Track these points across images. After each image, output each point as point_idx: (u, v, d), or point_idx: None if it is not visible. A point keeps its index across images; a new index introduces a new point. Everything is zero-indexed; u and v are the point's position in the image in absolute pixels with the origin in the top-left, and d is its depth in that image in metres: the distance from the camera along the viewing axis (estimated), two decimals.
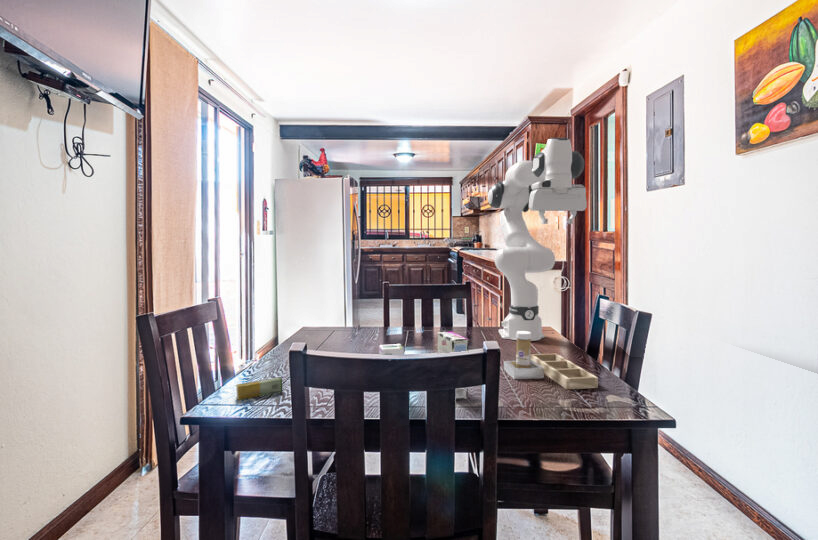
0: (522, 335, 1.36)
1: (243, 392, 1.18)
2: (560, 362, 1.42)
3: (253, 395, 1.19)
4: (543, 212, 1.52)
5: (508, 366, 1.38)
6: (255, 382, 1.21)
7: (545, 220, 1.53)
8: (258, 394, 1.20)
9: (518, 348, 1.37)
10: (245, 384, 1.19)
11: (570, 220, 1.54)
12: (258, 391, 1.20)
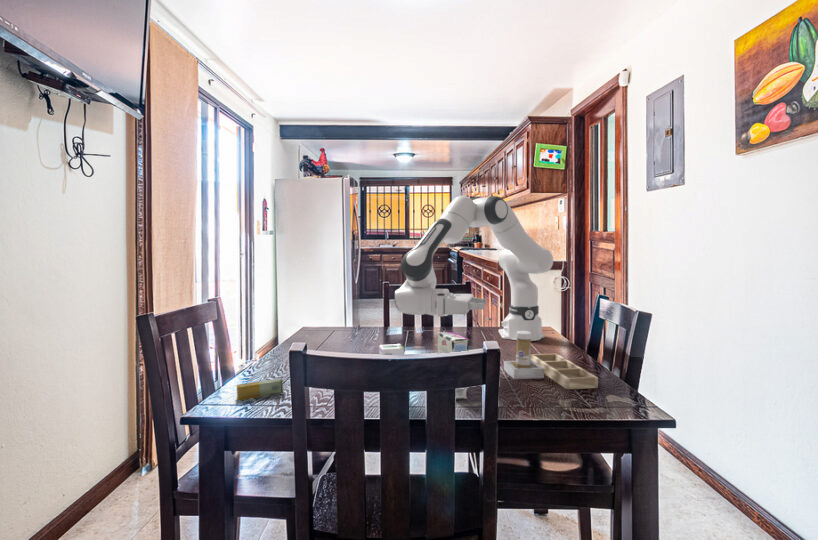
0: (522, 335, 1.36)
1: (243, 393, 1.17)
2: (560, 362, 1.42)
3: (253, 396, 1.19)
4: (471, 302, 1.35)
5: (508, 366, 1.38)
6: (255, 383, 1.20)
7: (480, 303, 1.35)
8: (258, 395, 1.19)
9: (518, 348, 1.37)
10: (245, 385, 1.19)
11: (482, 299, 1.44)
12: (258, 392, 1.19)
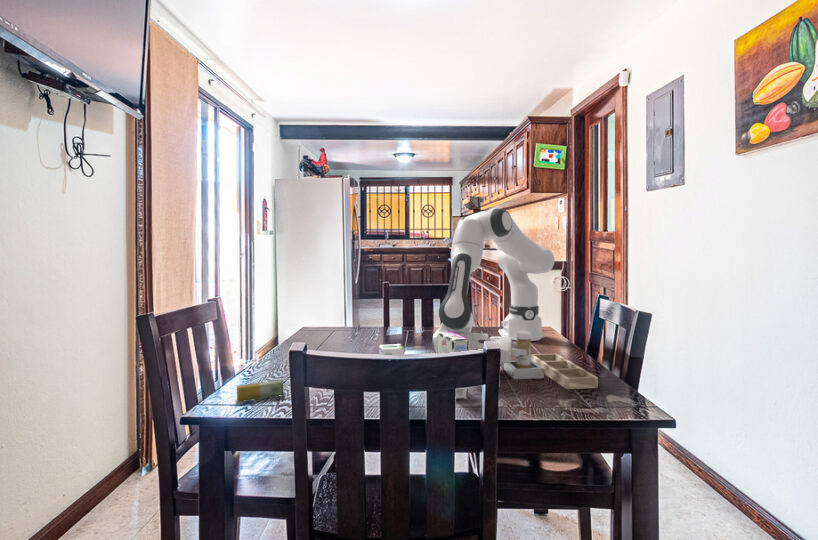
0: (522, 335, 1.36)
1: (243, 394, 1.17)
2: (560, 362, 1.42)
3: (252, 397, 1.18)
4: (513, 348, 1.35)
5: (508, 366, 1.38)
6: (255, 384, 1.19)
7: (522, 349, 1.35)
8: (258, 396, 1.18)
9: (518, 348, 1.37)
10: (245, 386, 1.18)
11: None
12: (258, 393, 1.18)
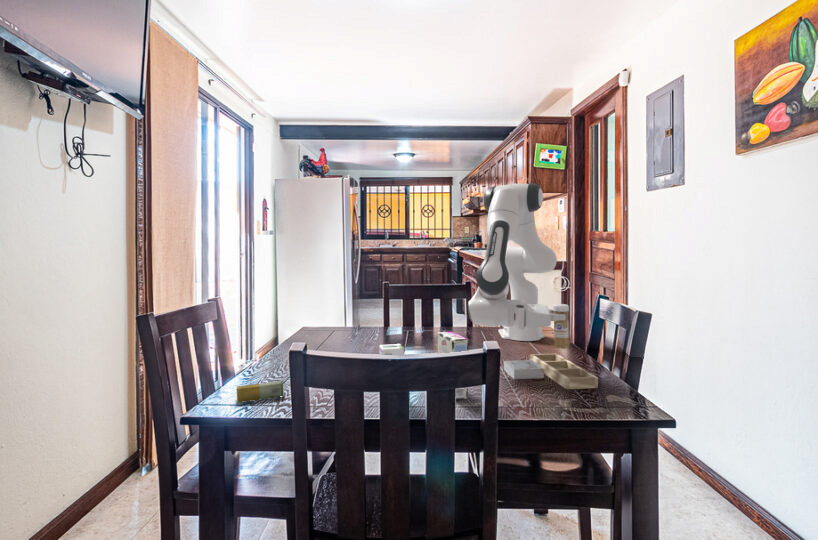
0: (560, 307, 1.35)
1: (242, 395, 1.16)
2: (560, 362, 1.42)
3: (252, 398, 1.17)
4: (552, 313, 1.34)
5: (508, 366, 1.38)
6: (255, 385, 1.18)
7: (561, 314, 1.34)
8: (257, 397, 1.17)
9: (556, 321, 1.36)
10: (245, 386, 1.17)
11: None
12: (257, 394, 1.17)
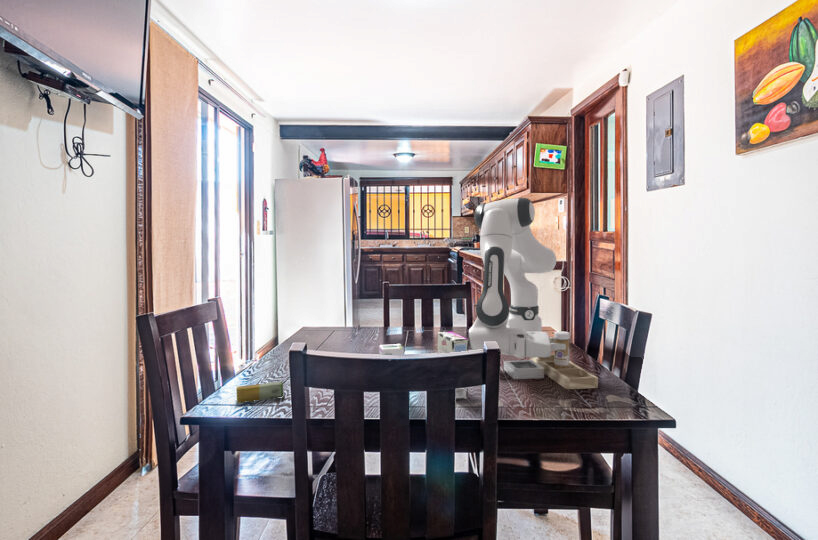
0: (561, 335, 1.35)
1: (242, 395, 1.16)
2: None
3: (252, 398, 1.17)
4: (552, 343, 1.34)
5: (508, 366, 1.38)
6: (255, 385, 1.18)
7: (561, 343, 1.34)
8: (257, 398, 1.17)
9: None
10: (245, 387, 1.17)
11: None
12: (257, 395, 1.17)
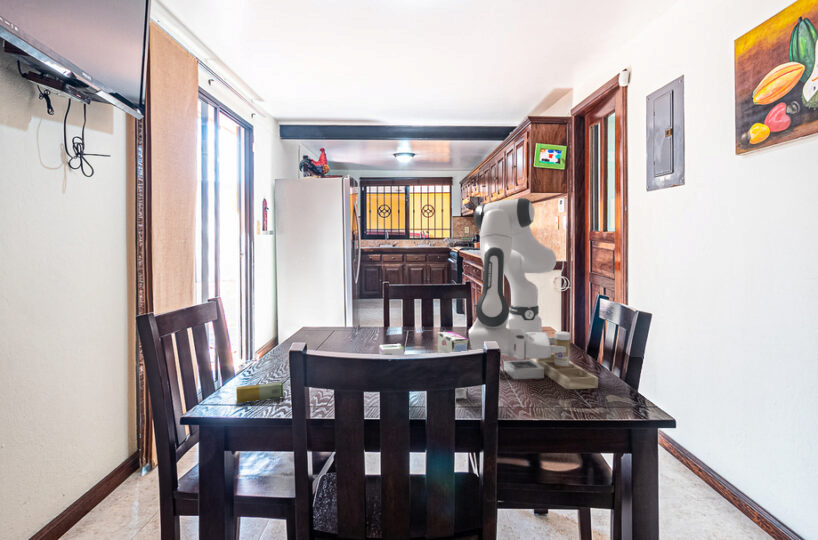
0: (561, 336, 1.35)
1: (242, 395, 1.16)
2: None
3: (252, 399, 1.16)
4: (552, 345, 1.32)
5: (508, 366, 1.38)
6: (255, 386, 1.18)
7: (562, 346, 1.33)
8: (257, 398, 1.17)
9: None
10: (245, 387, 1.17)
11: None
12: (257, 395, 1.17)
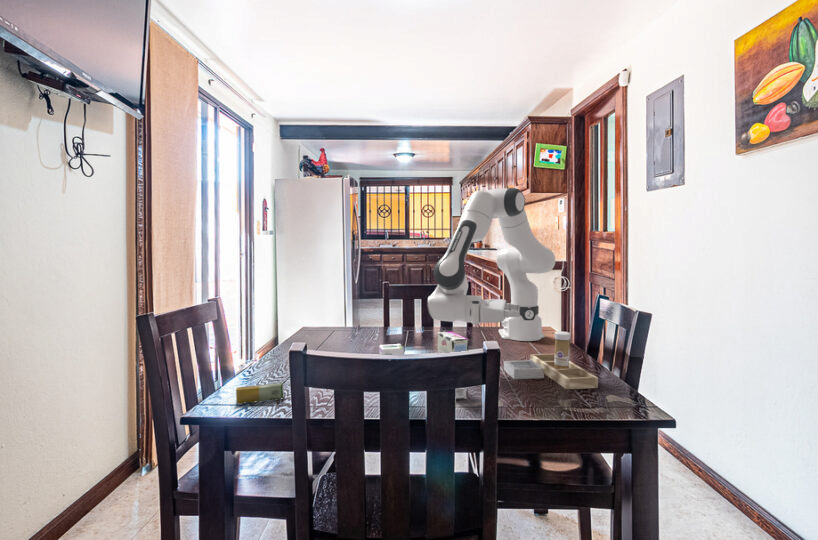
0: (561, 336, 1.35)
1: (242, 396, 1.15)
2: None
3: (252, 400, 1.16)
4: (506, 310, 1.35)
5: (508, 366, 1.38)
6: (255, 386, 1.17)
7: (515, 310, 1.35)
8: (257, 399, 1.16)
9: (557, 349, 1.36)
10: (244, 388, 1.16)
11: (516, 305, 1.44)
12: (257, 396, 1.16)
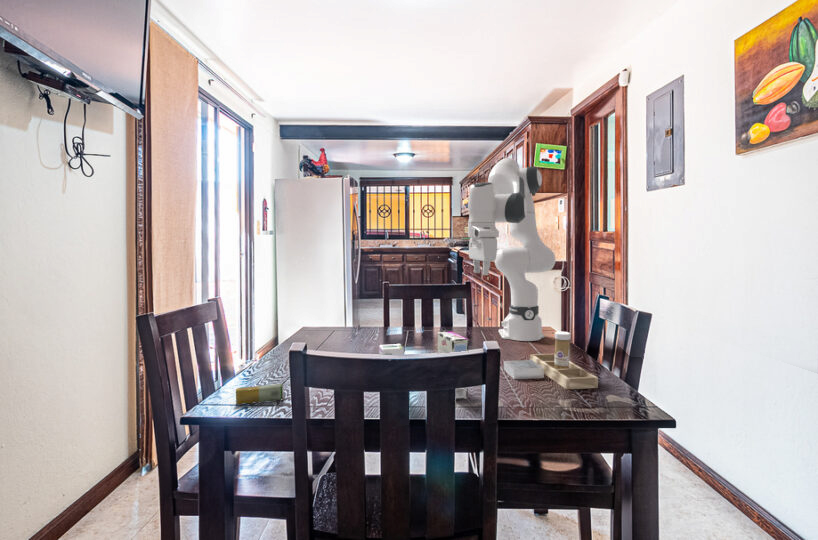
0: (561, 336, 1.35)
1: (241, 397, 1.14)
2: None
3: (251, 401, 1.15)
4: None
5: (508, 366, 1.38)
6: (255, 387, 1.16)
7: None
8: (257, 400, 1.15)
9: (557, 349, 1.36)
10: (244, 388, 1.16)
11: None
12: (256, 397, 1.15)
